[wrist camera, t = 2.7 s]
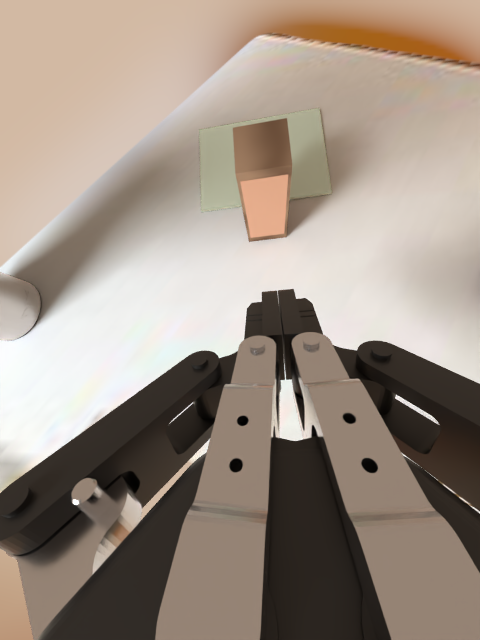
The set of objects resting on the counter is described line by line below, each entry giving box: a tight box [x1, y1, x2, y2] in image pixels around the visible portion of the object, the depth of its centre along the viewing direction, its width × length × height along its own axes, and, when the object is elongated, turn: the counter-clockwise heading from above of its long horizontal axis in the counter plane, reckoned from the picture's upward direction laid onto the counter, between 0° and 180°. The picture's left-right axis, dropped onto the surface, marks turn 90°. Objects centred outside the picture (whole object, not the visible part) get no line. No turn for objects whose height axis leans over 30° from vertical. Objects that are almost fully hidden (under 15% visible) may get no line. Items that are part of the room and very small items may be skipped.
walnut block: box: [233, 118, 292, 242], centre depth 28 cm, size 5×5×12 cm
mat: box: [199, 108, 332, 212], centre depth 36 cm, size 18×14×1 cm
